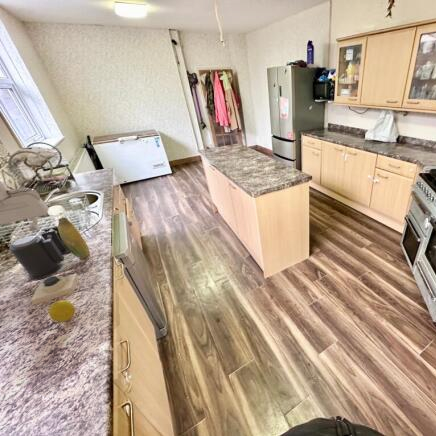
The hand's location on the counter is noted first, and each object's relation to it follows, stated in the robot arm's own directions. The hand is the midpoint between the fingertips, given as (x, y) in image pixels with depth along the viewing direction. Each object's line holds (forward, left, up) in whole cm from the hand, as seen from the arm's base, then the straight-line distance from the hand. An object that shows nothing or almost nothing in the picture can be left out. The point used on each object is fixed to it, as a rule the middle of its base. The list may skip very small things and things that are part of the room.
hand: (16, 234), depth 74 cm
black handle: (-5, +31, -25) cm, 40 cm away
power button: (0, 0, -21) cm, 21 cm away
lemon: (+7, -19, -25) cm, 32 cm away
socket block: (0, 0, -25) cm, 25 cm away
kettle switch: (-8, +31, -18) cm, 37 cm away
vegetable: (+5, +19, -25) cm, 32 cm away
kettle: (-7, +16, -25) cm, 30 cm away
